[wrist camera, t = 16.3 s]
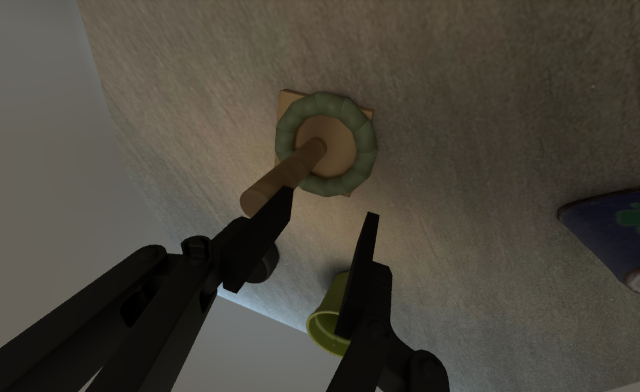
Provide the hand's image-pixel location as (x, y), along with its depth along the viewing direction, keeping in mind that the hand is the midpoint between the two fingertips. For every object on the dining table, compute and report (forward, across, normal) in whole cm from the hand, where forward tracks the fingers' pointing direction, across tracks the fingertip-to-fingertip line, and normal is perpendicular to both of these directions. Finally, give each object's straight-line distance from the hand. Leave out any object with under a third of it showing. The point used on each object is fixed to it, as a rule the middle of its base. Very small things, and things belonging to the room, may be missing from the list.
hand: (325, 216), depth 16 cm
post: (+13, -4, 0) cm, 14 cm away
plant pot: (+13, +4, -21) cm, 25 cm away
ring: (+11, -4, 0) cm, 11 cm away
